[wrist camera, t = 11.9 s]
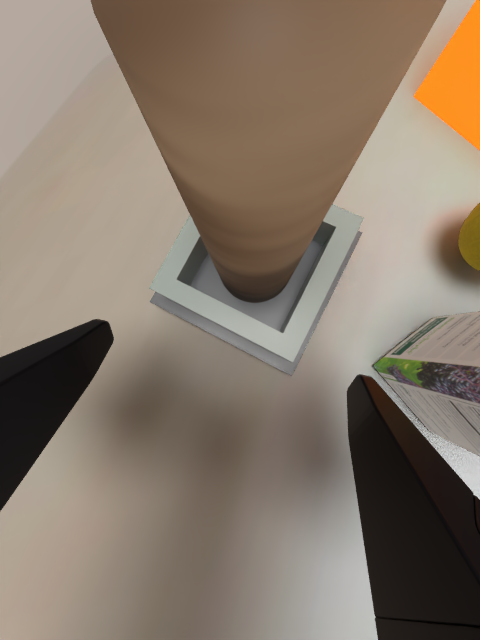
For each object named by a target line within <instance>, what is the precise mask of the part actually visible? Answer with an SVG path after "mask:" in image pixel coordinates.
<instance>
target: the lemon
mask: <svg viewBox="0 0 480 640" xmlns="http://www.w3.org/2000/svg"><path fill="white" fill-rule="evenodd" d="M458 244H459V249H460V252H461V255H462V257H463V258H464V259H465V261H466V262H467V263H468V264H469V265H470V266H472V267H473V268H475V269H476V270H479V271H480V203H479V204H478V205H477V206H476V207H475V208H474V209H473V210H472V212H471V213H470V214H469V216H468V217H467V218H466V220H465V221H464V223H463V225H462V228H461V230H460V233H459V241H458Z"/></svg>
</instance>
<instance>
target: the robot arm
mask: <svg viewBox="0 0 480 640" xmlns="http://www.w3.org/2000/svg"><path fill="white" fill-rule="evenodd" d="M113 340H114V337H113V334H112V330H111V327H110V324H109V323H108V322H107V321H104V320H100V319H94V320H92V321H89V322H87V323H84V324H82V325H79V326H77V327H74V328H72V329H69V330H67V331H65V332H62V333H60V334H57V335H55V336H52V337H50V338H47V339H45V340H42V341H40V342H37V343H35V344H32V345H30V346H27V347H25V348H22V349H20V350H17V351H15V352H12V353H10V354H8V355H5V356H3V357H0V510H2V508H3V507H4V506H5V504H6V503H7V501H8V500H9V498H10V497H11V496H12V494H13V493H14V491H15V490H16V488H17V487H18V486H19V484H20V483H21V481H22V480H23V478H24V477H25V475H26V474H27V473H28V471H29V470H30V468H31V467H32V465H33V464H34V463H35V461H36V460H37V458H38V457H39V455H40V454H41V453H42V451H43V450H44V448H45V447H46V445H47V444H48V443H49V441H50V440H51V438H52V437H53V435H54V434H55V432H56V431H57V430H58V428H59V427H60V425H61V424H62V422H63V421H64V420H65V418H66V417H67V415H68V414H69V412H70V411H71V410H72V408H73V407H74V405H75V404H76V402H77V401H78V400H79V398H80V397H81V395H82V394H83V392H84V391H85V389H86V388H87V387H88V385H89V384H90V382H91V381H92V379H93V378H94V376H95V374H96V373H97V371H98V369H99V367H100V365H101V363H102V362H103V360H104V358H105V356H106V354H107V353H108V351H109V349H110V347H111V345H112V343H113ZM347 413H348V437H349V445H350V452H351V459H352V465H353V472H354V479H355V486H356V492H357V499H358V506H359V513H360V519H361V526H362V533H363V540H364V546H365V553H366V560H367V566H368V573H369V580H370V587H371V593H372V600H373V607H374V614H375V617H376V618H375V622H376V628H377V635H378V640H480V500H479V499H478V497H477V496H475V495H473V492H472V491H471V490H470V488H469V487H468V486H467V485H466V484H465V483H464V482H463V480H462V479H461V478H460V477H459V476H458V475H457V474H456V472H455V471H454V470H453V469H452V468H451V467H450V466H449V464H448V463H447V462H446V461H445V460H444V459H443V458H442V456H441V455H440V454H439V453H438V452H437V451H436V450H435V448H434V447H433V446H432V445H431V444H430V443H429V442H428V440H427V439H426V438H425V437H424V436H423V435H422V434H421V432H420V431H419V430H418V429H417V428H416V427H415V426H414V424H413V423H412V422H411V421H410V420H409V419H408V418H407V416H406V415H405V414H404V413H403V412H402V411H401V410H400V408H399V407H398V406H397V405H396V404H395V403H394V402H393V400H392V399H391V398H390V397H389V396H388V395H387V394H386V392H385V391H384V390H383V389H382V388H381V387H380V386H379V384H378V383H377V382H376V381H375V380H374V379H373V378H372V377H370V376H366V375H361V374H359V375H357V376H356V378H355V379H354V380H353V382H352V383H351V385H350V386H349V388H348V390H347Z"/></svg>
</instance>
